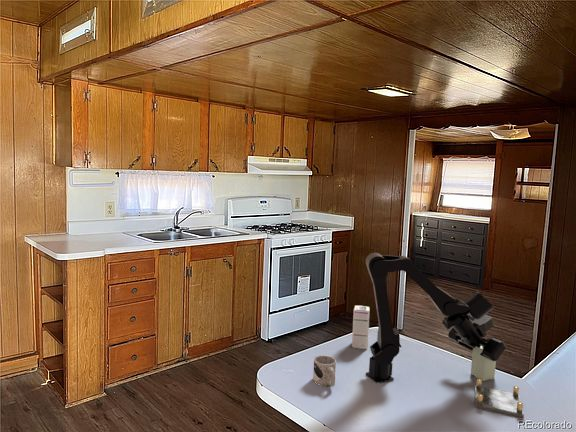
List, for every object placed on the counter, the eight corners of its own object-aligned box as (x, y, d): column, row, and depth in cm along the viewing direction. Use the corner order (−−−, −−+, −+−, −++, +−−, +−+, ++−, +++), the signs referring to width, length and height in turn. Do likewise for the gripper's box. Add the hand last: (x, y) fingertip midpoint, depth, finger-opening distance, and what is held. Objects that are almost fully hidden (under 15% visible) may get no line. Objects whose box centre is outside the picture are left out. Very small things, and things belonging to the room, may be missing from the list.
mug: (309, 377, 139) (310, 356, 138) (329, 374, 141) (330, 354, 141) (322, 392, 130) (324, 370, 129) (343, 389, 132) (344, 368, 131)
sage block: (482, 380, 142) (485, 350, 141) (470, 374, 146) (473, 344, 145) (494, 378, 144) (497, 348, 143) (482, 371, 148) (484, 342, 147)
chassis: (523, 417, 121) (524, 405, 120) (475, 407, 125) (476, 395, 125) (518, 397, 132) (519, 386, 132) (474, 388, 136) (475, 377, 136)
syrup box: (367, 349, 162) (370, 310, 161) (351, 347, 164) (353, 309, 162) (368, 343, 168) (370, 306, 167) (352, 341, 169) (354, 304, 168)
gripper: (504, 316, 132) (527, 348, 138) (457, 299, 149) (479, 327, 155) (482, 345, 130) (506, 376, 136) (437, 324, 147) (460, 352, 153)
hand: (487, 356), depth 145 cm, fingers closed on sage block, 5 cm apart
